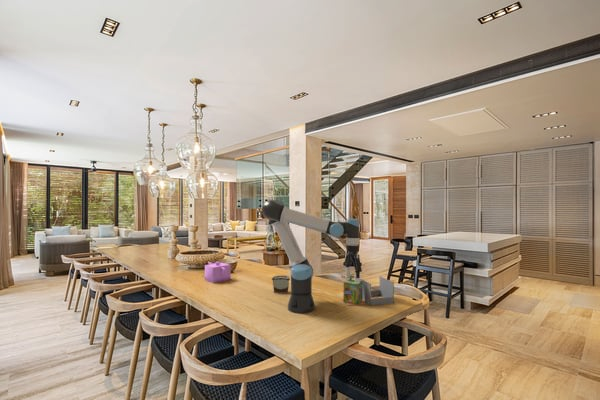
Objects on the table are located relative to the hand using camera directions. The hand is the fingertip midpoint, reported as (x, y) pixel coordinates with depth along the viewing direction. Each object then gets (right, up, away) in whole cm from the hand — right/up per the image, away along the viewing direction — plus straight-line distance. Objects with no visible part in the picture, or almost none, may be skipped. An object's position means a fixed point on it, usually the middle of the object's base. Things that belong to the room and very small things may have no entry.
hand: (352, 280), depth 177 cm
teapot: (-97, -15, +57) cm, 113 cm away
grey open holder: (+15, -13, +3) cm, 20 cm away
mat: (+1, -13, 0) cm, 13 cm away
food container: (-43, -14, +23) cm, 51 cm away
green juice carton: (0, -12, 0) cm, 12 cm away
